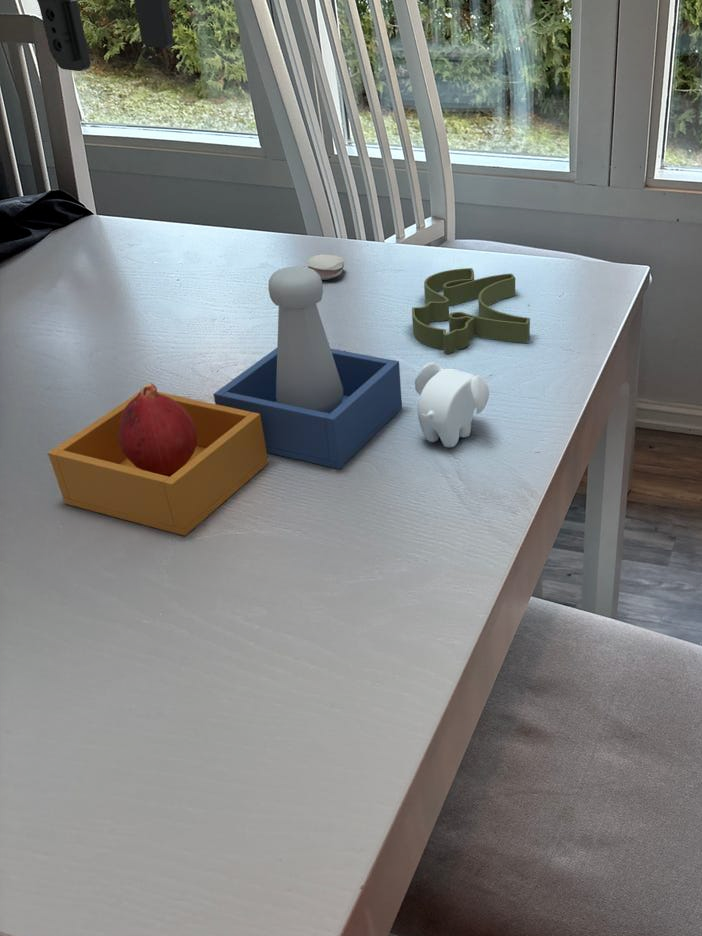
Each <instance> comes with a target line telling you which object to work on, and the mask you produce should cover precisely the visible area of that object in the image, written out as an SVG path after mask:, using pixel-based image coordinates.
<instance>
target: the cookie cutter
mask: <svg viewBox="0 0 702 936" xmlns="http://www.w3.org/2000/svg"><path fill="white" fill-rule="evenodd" d="M423 288H424V289H423V290H424V303H425V305H424V306H418V307H413V306H412V307H411V317H412V319H411V320H412V332H413V333H412V334H413V335H414V337H415V339H416V340H417V341H418V342H420V343H421V344H423V345H425V346H428V347H431V348H435V349H440V350H443V353H444V355H450V354H452V353H453V352H455V351H456V350H464V349H466V348H468V346H469V342H470V341H471V340H473V339H474V338H475V337H479V338H484V339H489V340H493V341H494V340H495V341H501V342H502V341H503V342H511V343H521V344H522V343H523V344H528V342H529V340H530V334H531V333H530V332H531V318H530V317H526V316H519V315H514V314H510V313H505V312H501V311H499V310H496V309H493V308H492V307H490V305H492V304H494V303H496V302H498V301H501V300H503V299H507V298H511V297H515V296H516V277H515V275H514V273H503V274H496V275H495V274H494V275H490V276H486V277H481V278H477V279H475V271H474V269H473V268H472V267H467V268H465V267H464V268H455V269H448V270H443V271H440V272H437V273H434V274H432V275H430V276H428V277H427V278H425V280H424V281H423ZM442 291H443V293H442V294H441V293H439V292H442ZM476 299H478V316H477V315H473V314H469V313H466V312H464V311H455V312H450V307H451V306H455V305H456V306H457V305H459V304H463V303H465V302H469V301H472V300H476ZM446 321H448V329H449V330H448V331H449V332H448V333H447V329H445V328H439V327H434V326H430V323H431V322H446Z"/></svg>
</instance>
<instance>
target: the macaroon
mask: <svg viewBox="0 0 702 936" xmlns="http://www.w3.org/2000/svg"><path fill="white" fill-rule="evenodd" d="M306 265H307V268H311V269H313V270H314V271H315V272H317V273H318V274H319V275H320V277H321V280H322V281H329V280H331V279H334V278H336V277H338V276H339V275H341V273H342V272H343V270H344V267H345V259H344V258H343V257H341V256H339V255H334V254H324V253H323V254H322V253H321V254H316V255H313V256H312V257H310V258H308V259H307V261H306Z"/></svg>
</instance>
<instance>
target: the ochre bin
mask: <svg viewBox="0 0 702 936" xmlns="http://www.w3.org/2000/svg"><path fill="white" fill-rule="evenodd" d="M139 392H140V391H138V392H137V393H135V394H134V395H132V396H131V397H129V398H128V399H126V400H125V401H123V402H122V403H120V404H119V405H117V406H116V407H114V408H112V409H111V410H110V411H108V412H107V413H105V414H104V415H102V416H101V417H99V418H98V419H95V421H93V422H92V423H90V424H89V425H87V426H86V427H84V428H83V429H81V430H80V431H78V432H77V433H75V434H73V435H72V436H71V437H69V438H67V439H66V440H65V441H63V442H62V443H60V444H59V445H57V446H56V447H53V448H52V449H51V450H49V451H48V452H47V455H48V457H49V461H50V465H51V466H52V470H53V473H54V475H55V477H56V482H57V484H58V487H59V489H60V493H61V496H62V499H63V502H64V504H65V505H68V506H69V505H70V506H71V507H72V506H73V507H77V508H80V509H83V510H88V511H92V512H94V513H98V514H102V515H106V516H110V517H113V518H118V519H120V520H125V521H129V522H132V523H136V524H140V525H143V526H147V527H151V528H155V529H158V530H161V531H166V532H168V533H169V532H170V533H172V534H175V535H176V534H177V535H179V536H184V537H185V536H187V535H188V534H189V533H190V532H191V531H193V530H195V528H197V526H199V525H200V523H202V522H203V521H204V520H205V519H206V518H208V517H209V516H210V515H211V514H212V513H213V512H214V511H216V510H217V509H218V508H219V507H220V506H221V505H222V504H224V503H225V502H226V501H227V500H228V499H229V498H230V497H232V495H234V494H235V493H236V492H237V491H239V490H240V489H241V488H242V487H243V486H244V485H245V484H246V483H248V482H249V481H250V480H251V479H252V478H253V477H255V475H257V474H259V472H260V471H261V470H262V469H264V468H265V467H266V466H267V465H268V464H269V457H268V452H267V451H266V445H265V439H264V434H263V428H262V422H261V416H260V414H259V413H254V412H249V411H245V410H240V409H235V408H231V407H226V406H222V405H217V404H215V403H212V402H208V401H203V400H198V399H193V398H188V397H185V396H180V395H175V394H171V393H166V392H161V391H157V393H158V394H161V395H164V396H167V397H169V398H171V399H173V400H175V401H176V402H177V403H179V404H180V405H181V406H182V407H183V408H184V409H185V410H186V411H187V412H188V414H189V415H190V417H191V418H192V420H193V422H194V425H195V428H196V436H197V445H196V448H195V451H194V453H193V455H192V456H191V458H190V459H189V460H188V461H187V462H186V464H185V465H184V466H182V467H181V468H180V469H179V470H178V471H177V472H175V473H174V474H173V475H172V476H170V477H168V476H164V475H160V474H156V473H152V472H148V471H144V470H142V469H139V468H137V467H136V466H135V465H134V464H133V463H132V462H131V461H130V460H129V459H128V458H127V457H126V455H125V454H124V453H123V451H122V448H121V446H120V444H119V436H118V432H119V424H120V418H121V415H122V413H123V411H124V409H125V407H126V406H127V405H128V403H129V402H130V401H131V400H133V399H134V398H135V397H136V396H137V395H138V394H139Z"/></svg>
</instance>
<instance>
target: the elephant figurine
mask: <svg viewBox="0 0 702 936" xmlns="http://www.w3.org/2000/svg"><path fill="white" fill-rule="evenodd" d="M414 388H415V392H416V393H417V394H418V395H419V398H418V403H417V418H418V423H419V426H420V429H421V432H422V435H423V436H424V438H425V439H426V440H427V441H428V442H431V443H435V442H437V441H438V440H439V439H440V441H441V443H442V445H443V446H444V447H446V448H454V447H456V446H457V444H458V442H459V439H460V438H468V437H469V436H470V434H471V429H472V421H473V416H474V413H475V414H476V415H479V414H481V413H482V412H483V411H484V409H485V408H486V406H487V404H488V402H489V397H490V389H489V386H488V384H487V383H486V380H485V379H484V378H483V377H481V375H478V374H473V373H470V372H465V371H462V370H459V369H455V368H442V367H441V366H440V365H439V364H438V363H436V362H434V361H431V362H428V363H426V364H425V365H424V366H422V367H421V369H420V370H419V371H418V373H417V374H416V377H415V379H414Z"/></svg>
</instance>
